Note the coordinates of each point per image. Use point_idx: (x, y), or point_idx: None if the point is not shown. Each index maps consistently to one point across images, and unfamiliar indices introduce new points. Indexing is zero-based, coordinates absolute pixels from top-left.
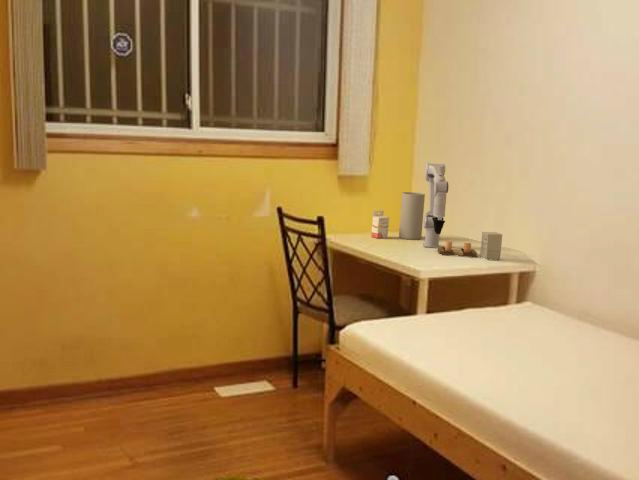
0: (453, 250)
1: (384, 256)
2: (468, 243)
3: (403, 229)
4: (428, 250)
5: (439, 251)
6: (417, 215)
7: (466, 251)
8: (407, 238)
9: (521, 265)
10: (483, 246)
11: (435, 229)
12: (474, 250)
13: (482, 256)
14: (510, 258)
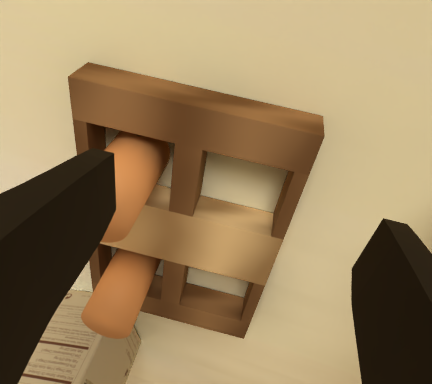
0: (143, 207)
1: None
2: (115, 329)
3: None
4: (335, 12)
5: (90, 76)
6: None
7: (107, 266)
8: None
9: None
10: (54, 354)
11: (27, 181)
12: (197, 324)
13: (87, 299)
14: (147, 378)
